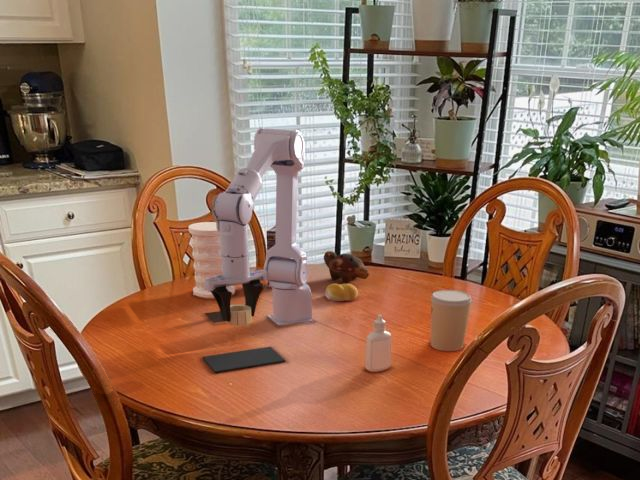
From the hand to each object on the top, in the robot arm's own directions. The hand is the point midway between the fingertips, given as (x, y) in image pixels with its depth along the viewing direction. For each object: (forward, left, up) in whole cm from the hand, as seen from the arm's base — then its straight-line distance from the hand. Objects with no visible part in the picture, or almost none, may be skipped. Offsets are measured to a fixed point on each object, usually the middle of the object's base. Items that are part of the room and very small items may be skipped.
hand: (238, 317), depth 156 cm
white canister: (-46, +13, -9) cm, 49 cm away
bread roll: (-40, -30, -9) cm, 50 cm away
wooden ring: (0, 0, -1) cm, 1 cm away
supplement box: (-28, -48, -9) cm, 56 cm away
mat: (0, +3, -9) cm, 9 cm away
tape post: (-5, -26, -9) cm, 27 cm away
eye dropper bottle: (-25, +19, -9) cm, 33 cm away
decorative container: (-9, -47, -9) cm, 48 cm away
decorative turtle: (-49, -45, -9) cm, 66 cm away
